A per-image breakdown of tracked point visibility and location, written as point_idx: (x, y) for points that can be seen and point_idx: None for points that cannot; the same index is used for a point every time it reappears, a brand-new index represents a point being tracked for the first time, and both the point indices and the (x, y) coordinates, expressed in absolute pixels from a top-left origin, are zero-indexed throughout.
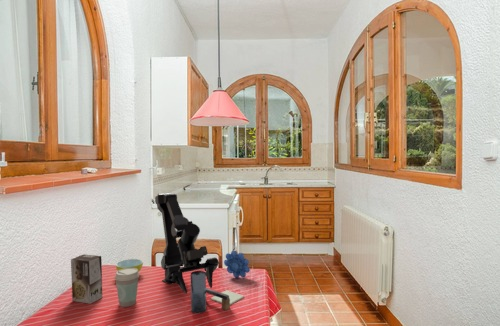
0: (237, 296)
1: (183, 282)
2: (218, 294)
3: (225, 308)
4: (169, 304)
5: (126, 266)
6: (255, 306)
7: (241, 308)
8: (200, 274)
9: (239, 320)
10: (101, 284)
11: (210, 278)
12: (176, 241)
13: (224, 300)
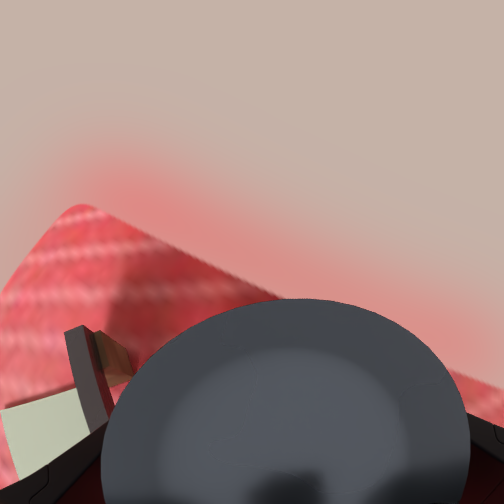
0: (20, 429)
1: (481, 437)
2: (105, 403)
3: (123, 349)
4: None
5: None
6: (20, 304)
7: (63, 322)
8: (269, 374)
9: (132, 234)
10: None
11: (79, 462)
12: None
13: (105, 343)
